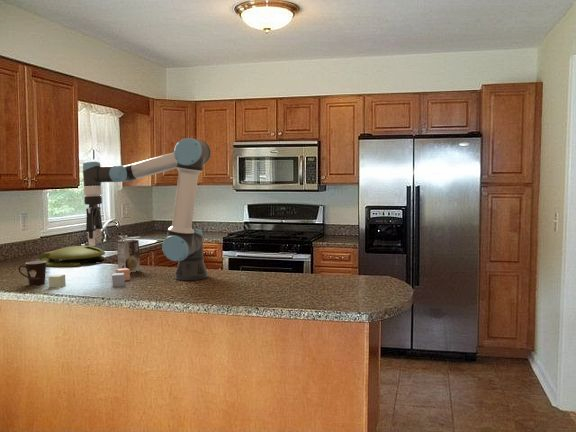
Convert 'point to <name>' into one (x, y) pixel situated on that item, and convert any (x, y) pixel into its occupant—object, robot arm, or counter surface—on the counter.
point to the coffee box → (128, 255)
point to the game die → (97, 236)
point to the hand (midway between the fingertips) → (95, 244)
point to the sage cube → (57, 281)
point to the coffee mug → (35, 272)
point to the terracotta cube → (126, 273)
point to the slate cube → (118, 279)
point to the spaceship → (71, 255)
